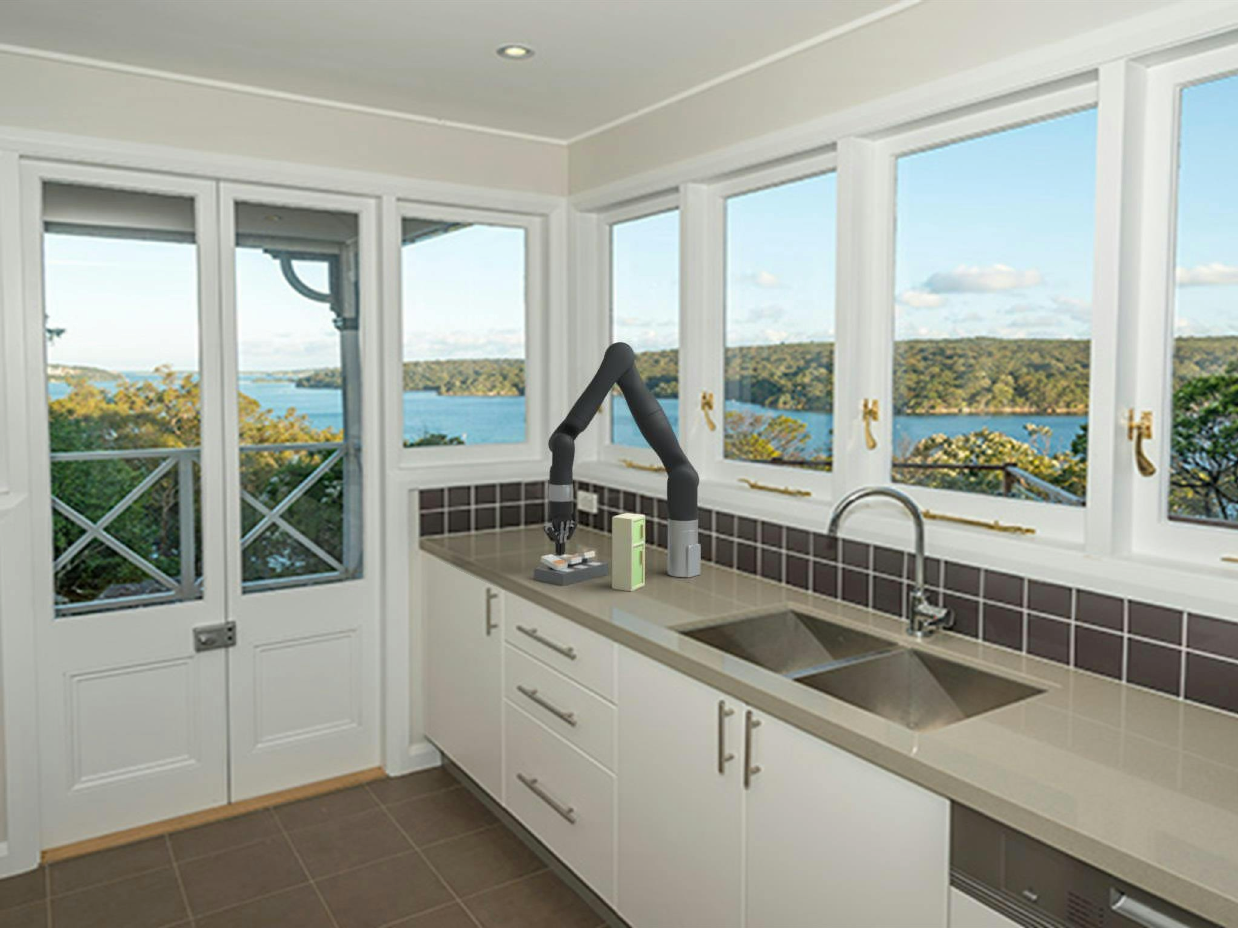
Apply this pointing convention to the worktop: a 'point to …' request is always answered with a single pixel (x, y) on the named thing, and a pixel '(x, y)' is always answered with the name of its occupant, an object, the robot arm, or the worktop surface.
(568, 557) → the block
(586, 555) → the rocker
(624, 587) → the toy refrigerator
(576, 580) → the rocker switch panel
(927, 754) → the worktop surface
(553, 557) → the block
